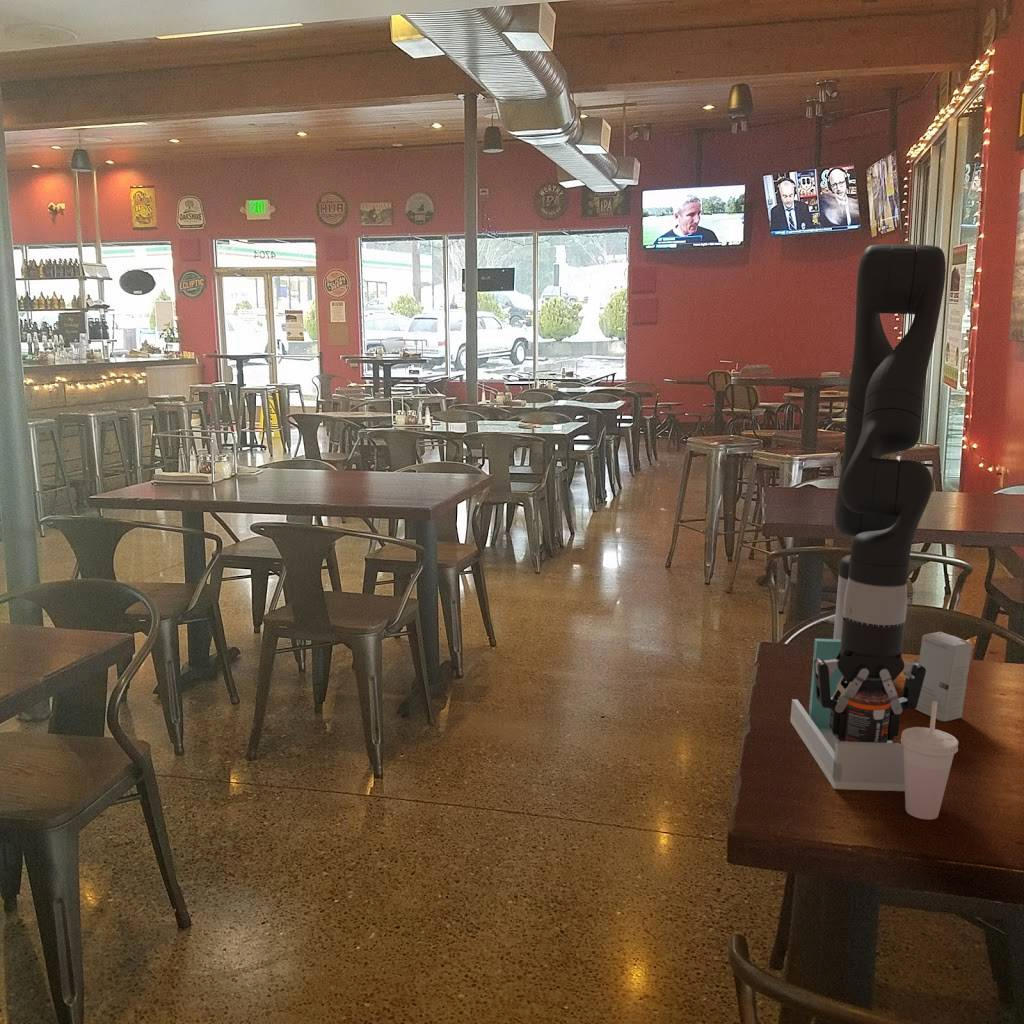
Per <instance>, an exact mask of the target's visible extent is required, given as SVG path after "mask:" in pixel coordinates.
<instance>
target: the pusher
mask: <svg viewBox="0 0 1024 1024" xmlns="http://www.w3.org/2000/svg"><path fill="white" fill-rule="evenodd" d="M840 645H841V639H833V638H814V646H813V655H812V656H813V659H812V668H811V681H810V682H811V683H810V692H809V693H810V695H809V706H808V715H809V716H810V718H811V719H812V721H813V722H814V723H815V725H816V726H817V728H818V729H830V728H829V723H830V710H831V709H830V708H824V707H823V706H822V705H821V703H820V702H819V701H818V700H817V698H816V685H815V671H814V660H815V659H817V658H821V659H822V660H831V659H836V657H837V656H838V654H839V652H840ZM842 676H843V675H842V673H841V672H840V670H839V669H838V668H836V669H835V670H834V673H833V676H832V677H829V683H830V696H831V697H832V696H833V694H834V692H835V691H836V689H837V684H838V682H839V681H840V679H841V677H842Z"/></svg>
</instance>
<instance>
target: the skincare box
mask: <svg viewBox="0 0 1024 1024" xmlns="http://www.w3.org/2000/svg"><path fill="white" fill-rule="evenodd" d="M972 649H973V642H970V641H968V640H965V639H962V638H960V637H957V636H955V635H951V634H948V633H945V632H943V631H936V632H929V633H926V634H923V635H922V637H921V644H920V651H919V657H918V658H919V659H918V662H919V663H920V664H921V665H922V666H923V667H924V668H925V669H926V673H925V677H924V681H923V685H922V688H921V692H920V696H919V700H918V704H917V707H916V709H915V710H916V711H919V712H920V713H922V714H925V715H927V716H929V717H931V711H932V702H933V701H937V712H936V720H938V721H940V722H949V721H953V720H957V719H961V718H962V716H963V709H964V704H965V696H966V691H967V682H968V676H969V669H970V663H971V656H972Z"/></svg>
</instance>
